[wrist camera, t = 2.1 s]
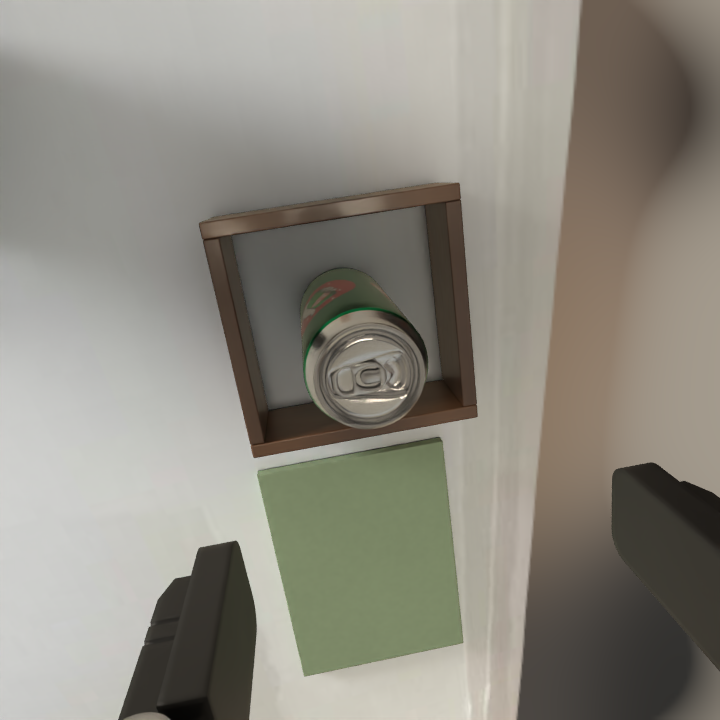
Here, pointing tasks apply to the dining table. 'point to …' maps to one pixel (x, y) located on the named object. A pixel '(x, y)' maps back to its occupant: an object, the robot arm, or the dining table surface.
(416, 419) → the crate
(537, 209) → the dining table surface
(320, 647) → the mat
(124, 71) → the dining table surface
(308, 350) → the soda can
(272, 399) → the dining table surface
